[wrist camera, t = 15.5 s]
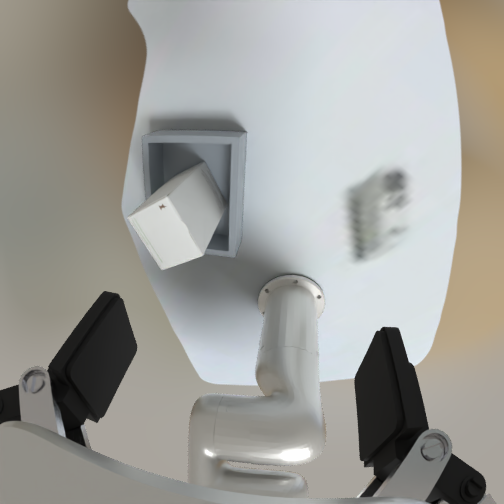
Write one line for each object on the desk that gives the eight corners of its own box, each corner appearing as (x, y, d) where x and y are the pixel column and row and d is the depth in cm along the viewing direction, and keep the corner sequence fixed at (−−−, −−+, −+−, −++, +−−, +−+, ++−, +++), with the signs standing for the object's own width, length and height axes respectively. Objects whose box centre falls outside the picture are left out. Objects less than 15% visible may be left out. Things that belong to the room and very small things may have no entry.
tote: (241, 239, 50) (235, 257, 45) (164, 230, 51) (150, 247, 46) (246, 131, 40) (239, 137, 35) (159, 130, 42) (141, 136, 37)
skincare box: (172, 176, 44) (122, 215, 31) (207, 158, 42) (166, 192, 29) (196, 220, 48) (159, 273, 35) (231, 206, 46) (203, 257, 32)
